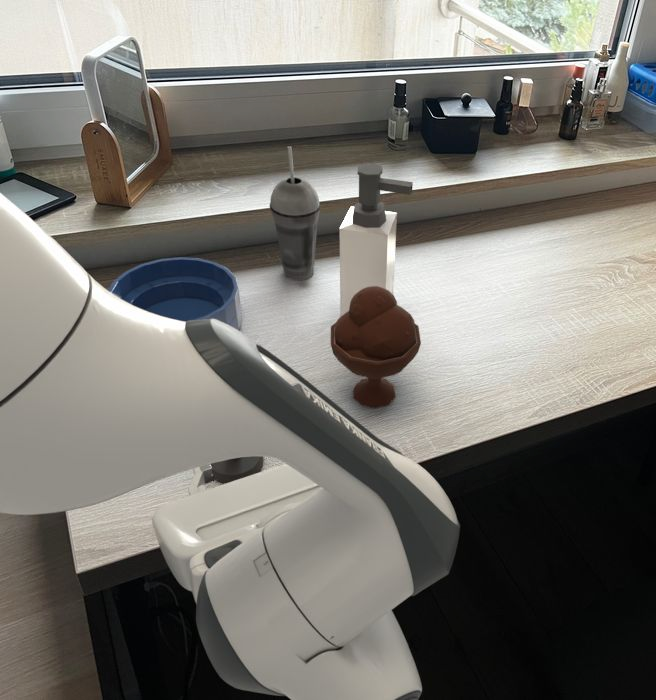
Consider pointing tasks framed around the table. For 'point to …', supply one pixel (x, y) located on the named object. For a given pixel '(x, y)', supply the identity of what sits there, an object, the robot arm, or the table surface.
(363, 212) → the soap dispenser
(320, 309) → the table surface
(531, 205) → the table surface
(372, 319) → the ice cream bowl
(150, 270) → the mixing bowl
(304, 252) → the beverage cup
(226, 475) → the peg stand
